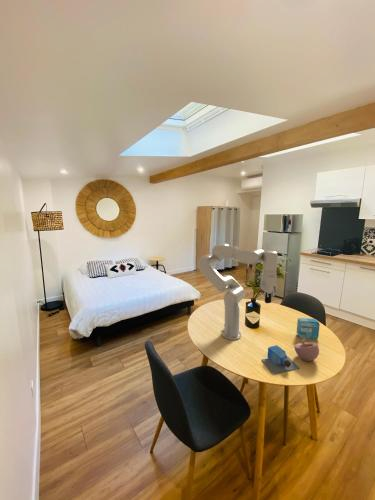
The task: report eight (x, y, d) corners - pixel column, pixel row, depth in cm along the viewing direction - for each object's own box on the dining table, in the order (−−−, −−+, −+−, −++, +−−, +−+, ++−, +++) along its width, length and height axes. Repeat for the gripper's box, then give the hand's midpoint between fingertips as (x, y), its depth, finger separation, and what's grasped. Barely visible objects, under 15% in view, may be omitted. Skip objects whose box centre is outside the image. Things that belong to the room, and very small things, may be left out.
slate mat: (261, 360, 125) (261, 359, 125) (286, 355, 129) (286, 354, 129) (273, 374, 115) (273, 373, 115) (299, 368, 119) (299, 367, 118)
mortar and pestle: (302, 349, 134) (304, 332, 132) (322, 361, 124) (324, 342, 122) (289, 355, 129) (290, 337, 127) (309, 368, 118) (310, 349, 116)
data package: (298, 337, 146) (299, 321, 144) (296, 334, 151) (297, 317, 149) (318, 339, 145) (320, 322, 142) (315, 335, 149) (317, 318, 147)
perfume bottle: (268, 347, 126) (284, 360, 115) (276, 345, 128) (293, 357, 117) (267, 357, 127) (283, 371, 116) (276, 354, 129) (292, 368, 118)
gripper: (256, 269, 135) (255, 298, 138) (271, 276, 120) (269, 308, 124) (267, 268, 136) (266, 297, 140) (283, 275, 122) (281, 307, 125)
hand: (267, 302), depth 132 cm, fingers closed
